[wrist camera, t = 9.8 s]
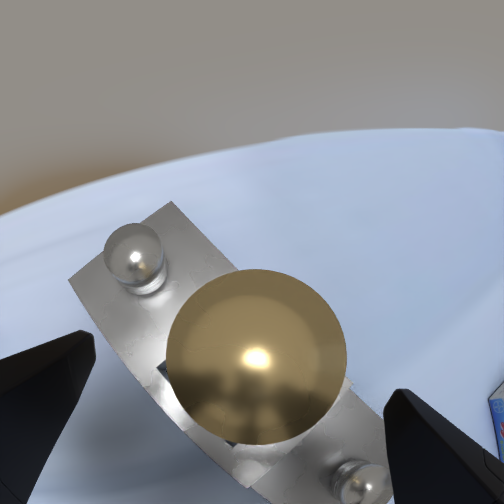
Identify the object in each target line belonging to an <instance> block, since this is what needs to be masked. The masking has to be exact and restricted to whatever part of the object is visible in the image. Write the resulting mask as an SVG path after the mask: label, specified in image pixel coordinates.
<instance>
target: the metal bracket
mask: <svg viewBox="0 0 504 504" xmlns="http://www.w3.org/2000/svg"><path fill="white" fill-rule="evenodd" d="M236 271H239V270H238V269H237V268H236V267H235V266H234V265H233V264H232V263H231V262H230V261H229V260H228V259H227V258H226V257H225V256H224V255H223V254H222V253H221V252H220V251H219V250H218V249H217V248H216V247H215V246H214V245H213V244H212V243H211V242H210V241H209V240H208V239H207V238H206V236H205V235H204V234H203V233H202V232H201V231H200V230H199V229H198V228H197V227H196V226H195V225H194V224H193V223H192V222H191V221H190V220H189V219H188V218H187V217H186V216H185V215H184V214H183V213H182V212H181V211H180V209H179V208H178V207H177V206H176V205H175V204H174V203H173V202H172V201H170V202H169V203H167V204H166V205H165V206H163V207H162V208H160V209H159V210H157V211H156V212H155V213H153V214H152V215H150V216H149V217H148V218H146V219H145V220H144V221H142V222H141V223H132V224H127V225H124V226H122V227H120V228H118V229H117V230H115V231H114V232H113V233H112V234H111V235H110V237H109V238H108V240H107V241H106V244H105V247H104V251H103V252H101V253H100V254H99V255H98V256H96V257H95V258H94V259H93V260H91V261H90V262H89V263H88V264H86V265H85V266H84V267H83V268H82V269H80V270H79V271H78V272H77V273H76V274H74V275H73V276H72V277H71V278H70V279H68V281H69V283H70V284H71V286H72V288H73V289H74V291H75V293H76V294H77V296H78V298H79V299H80V301H81V302H82V304H83V306H84V307H85V309H86V310H87V312H88V313H89V315H90V316H91V318H92V319H93V321H94V322H95V324H96V325H97V327H98V328H99V330H100V331H101V333H102V334H103V336H104V337H105V338H106V340H107V341H108V343H109V344H110V345H111V347H112V348H113V349H114V351H115V352H116V353H117V355H118V356H119V357H120V359H121V360H122V361H123V363H124V364H125V365H126V367H127V368H128V369H129V370H130V372H131V373H132V374H133V375H134V377H135V378H136V379H137V380H138V382H139V383H140V384H141V385H142V386H143V388H144V389H145V390H146V391H147V392H148V394H149V395H150V396H151V397H152V398H153V399H154V400H155V402H156V403H157V404H158V405H159V406H160V407H161V408H162V409H163V411H164V412H165V413H166V414H167V415H168V416H169V417H170V418H171V419H172V420H173V421H174V422H175V423H176V425H177V426H178V427H179V428H180V429H181V430H182V431H183V432H184V433H185V434H186V435H187V436H188V437H189V438H190V439H191V440H192V441H193V442H194V443H195V444H196V445H197V446H198V447H199V448H200V449H202V450H203V451H204V452H205V453H206V454H207V455H208V456H209V457H210V458H211V459H212V460H213V461H214V462H216V463H217V464H218V465H219V466H220V467H221V468H222V469H223V470H225V471H226V472H227V473H228V474H229V475H230V476H232V477H233V478H234V479H235V480H236V481H238V482H239V483H240V484H241V485H243V486H244V487H245V488H246V489H247V488H249V487H251V488H252V489H254V490H255V491H256V492H257V493H259V494H260V495H261V496H263V497H264V498H265V499H267V500H268V501H269V502H271V503H272V504H386V503H387V502H388V501H389V500H390V499H391V497H392V495H393V488H392V482H391V476H390V470H389V464H388V459H387V452H386V440H385V429H384V420H383V419H382V418H380V417H379V416H378V415H377V414H376V413H375V412H374V411H373V410H372V409H371V408H370V407H369V406H367V405H366V404H365V403H364V402H363V401H362V400H361V399H360V398H359V397H358V396H357V395H356V394H355V393H354V392H353V391H352V390H350V389H349V388H350V387H351V385H352V384H353V382H351V381H350V380H349V379H348V378H347V377H346V376H345V378H344V381H343V385H342V388H341V390H340V392H339V395H338V397H337V399H336V400H335V402H334V404H333V405H332V407H331V408H330V410H329V411H328V412H327V413H326V414H325V416H324V417H323V418H322V419H321V420H320V421H319V422H318V423H316V424H315V425H314V426H313V427H311V428H310V429H308V430H307V431H306V432H304V433H302V434H300V435H298V436H296V437H294V438H292V439H289V440H286V441H283V442H279V443H275V444H269V445H245V444H240V443H234V442H231V441H228V440H225V439H222V438H220V437H218V436H216V435H214V434H212V433H210V432H208V431H207V430H205V429H204V428H203V427H201V426H200V425H199V424H197V423H196V422H195V421H194V420H193V419H192V418H191V417H190V416H189V415H188V414H187V412H186V411H185V410H184V409H183V408H182V406H181V404H180V403H179V401H178V400H177V398H176V396H175V394H174V392H173V389H172V387H171V384H170V381H169V377H168V375H167V374H166V372H165V371H164V370H165V369H166V368H167V366H166V347H167V340H168V336H169V332H170V329H171V326H172V324H173V321H174V319H175V317H176V315H177V314H178V312H179V310H180V309H181V307H182V306H183V304H184V303H185V302H186V301H187V300H188V298H189V297H190V296H191V295H192V294H194V293H195V292H196V291H197V290H198V289H199V288H201V287H202V286H203V285H205V284H206V283H208V282H210V281H212V280H213V279H215V278H217V277H220V276H222V275H225V274H228V273H232V272H236Z"/></svg>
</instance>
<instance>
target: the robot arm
mask: <svg viewBox="0 0 504 504" xmlns="http://www.w3.org/2000/svg"><path fill="white" fill-rule="evenodd" d="M95 360H96V352H95V343H94V336H93V335H92V334H91V333H89V332H86V331H83V330H78V331H76V332H73V333H70V334H68V335H65V336H62V337H60V338H57V339H54V340H52V341H49V342H46V343H44V344H41V345H38V346H36V347H33V348H30V349H28V350H25V351H22V352H20V353H17V354H14V355H11V356H9V357H6V358H3V359H1V360H0V504H27V502H28V499H29V497H30V495H31V493H32V491H33V488H34V486H35V484H36V482H37V480H38V478H39V476H40V474H41V471H42V469H43V467H44V465H45V463H46V461H47V459H48V457H49V455H50V453H51V451H52V449H53V447H54V446H55V444H56V442H57V440H58V438H59V436H60V434H61V432H62V430H63V428H64V427H65V425H66V423H67V421H68V419H69V417H70V416H71V414H72V412H73V410H74V408H75V406H76V405H77V403H78V401H79V398H80V396H81V394H82V391H83V389H84V386H85V384H86V382H87V379H88V377H89V375H90V373H91V370H92V368H93V366H94V363H95ZM383 418H384V429H385V440H386V452H387V459H388V464H389V470H390V476H391V482H392V488H393V495H394V502H395V504H504V463H503V462H501V461H500V460H499V459H497V458H496V457H495V456H493V455H492V454H491V453H489V452H488V451H487V450H485V449H484V448H483V449H482V446H480V445H479V444H478V443H476V442H475V441H474V440H473V439H471V438H470V437H469V436H467V435H466V434H465V433H464V432H462V431H461V430H460V429H458V428H457V427H456V426H455V425H453V424H452V423H451V422H450V421H448V420H447V419H446V418H444V417H443V416H442V415H441V414H439V413H438V412H437V411H436V410H434V409H433V408H432V407H431V406H429V405H428V404H427V403H426V402H424V401H423V400H422V399H420V398H419V397H418V396H417V395H415V394H414V393H413V392H412V391H410V390H409V389H396V390H395V391H394V392H393V394H392V396H391V397H390V399H389V400H388V402H387V404H386V405H385V407H384V410H383Z"/></svg>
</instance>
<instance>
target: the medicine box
mask: <svg viewBox="0 0 504 504" xmlns="http://www.w3.org/2000/svg"><path fill="white" fill-rule="evenodd" d="M489 404H490V408H491V412H492V417H493V421H494V426H495V430H496V435H497V440H498V446H499V452H500V459H501V462H503V463H504V383H503V384H502V385H501V386H500V387H499V388H498V389H497V391H496V392H495V393H494V394H493V395H492V396H491V397H490V399H489Z"/></svg>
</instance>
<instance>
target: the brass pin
mask: <svg viewBox="0 0 504 504" xmlns="http://www.w3.org/2000/svg"><path fill="white" fill-rule="evenodd" d="M346 365H347V352H346V343H345V339H344V335H343V331H342V329H341V326H340V324H339V321H338V319H337V318H336V316H335V314H334V312H333V311H332V309H331V308H330V306H329V305H328V304H327V302H326V301H325V300H324V299H323V298H322V297H321V296H320V295H319V294H318V293H317V292H316V291H314V290H313V289H312V288H311V287H309V286H308V285H306V284H305V283H303V282H301V281H300V280H298V279H296V278H294V277H291V276H289V275H286V274H283V273H279V272H275V271H270V270H261V269H249V270H241V271H236V272H232V273H228V274H225V275H222V276H220V277H217V278H215V279H213V280H212V281H210V282H208V283H206V284H205V285H203V286H202V287H201V288H199V289H198V290H197V291H196V292H195V293H194V294H192V295H191V296H190V297H189V298H188V300H187V301H186V302H185V303H184V304H183V306H182V307H181V309H180V310H179V312H178V314H177V315H176V317H175V319H174V321H173V324H172V326H171V329H170V332H169V336H168V340H167V347H166V366H167V373H168V377H169V381H170V384H171V387H172V389H173V392H174V394H175V396H176V398H177V400H178V401H179V403H180V404H181V406H182V408H183V409H184V410H185V411H186V412H187V414H188V415H189V416H190V417H191V418H192V419H193V420H194V421H195V422H196V423H197V424H199V425H200V426H201V427H203V428H204V429H205V430H207V431H208V432H210V433H212V434H214V435H216V436H218V437H220V438H222V439H225V440H228V441H231V442H234V443H240V444H245V445H269V444H275V443H279V442H283V441H286V440H289V439H292V438H294V437H296V436H298V435H300V434H302V433H304V432H306V431H307V430H308V429H310V428H311V427H313V426H314V425H315V424H316V423H318V422H319V421H320V420H321V419H322V418H323V417H324V416H325V414H326V413H327V412H328V411H329V410H330V408H331V407H332V405H333V404H334V402H335V400H336V399H337V397H338V395H339V392H340V390H341V388H342V385H343V381H344V378H345V372H346Z"/></svg>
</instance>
